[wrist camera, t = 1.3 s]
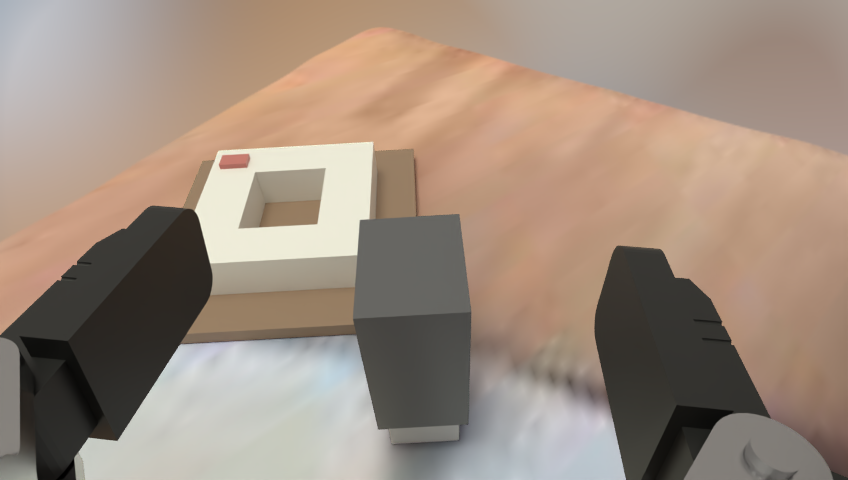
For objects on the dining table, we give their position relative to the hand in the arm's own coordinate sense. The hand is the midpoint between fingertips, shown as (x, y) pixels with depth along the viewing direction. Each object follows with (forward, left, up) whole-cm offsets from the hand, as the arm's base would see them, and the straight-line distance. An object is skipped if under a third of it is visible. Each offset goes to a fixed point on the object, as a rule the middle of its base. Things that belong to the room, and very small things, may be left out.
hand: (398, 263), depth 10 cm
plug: (0, -8, -20) cm, 22 cm away
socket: (+9, -22, -20) cm, 31 cm away
